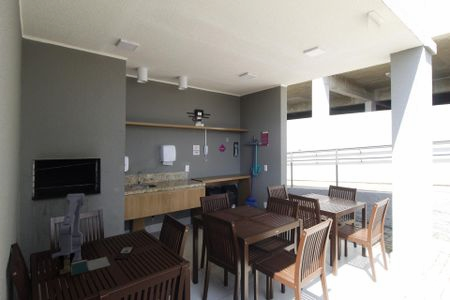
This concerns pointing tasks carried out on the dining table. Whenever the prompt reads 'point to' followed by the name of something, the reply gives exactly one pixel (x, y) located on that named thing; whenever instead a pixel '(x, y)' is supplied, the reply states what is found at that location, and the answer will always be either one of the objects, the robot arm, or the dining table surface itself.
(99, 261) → the mat
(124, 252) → the chocolate bar
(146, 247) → the dining table surface
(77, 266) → the tile
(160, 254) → the dining table surface
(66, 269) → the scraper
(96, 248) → the dining table surface
